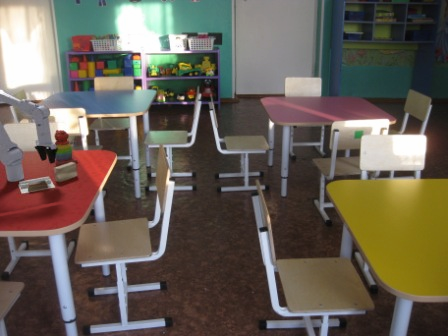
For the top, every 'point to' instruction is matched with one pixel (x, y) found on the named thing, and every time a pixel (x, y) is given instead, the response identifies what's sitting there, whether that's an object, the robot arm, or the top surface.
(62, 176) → the birch sheet
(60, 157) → the stacking bear
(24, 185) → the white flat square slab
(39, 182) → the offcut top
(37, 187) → the offcut bottom
